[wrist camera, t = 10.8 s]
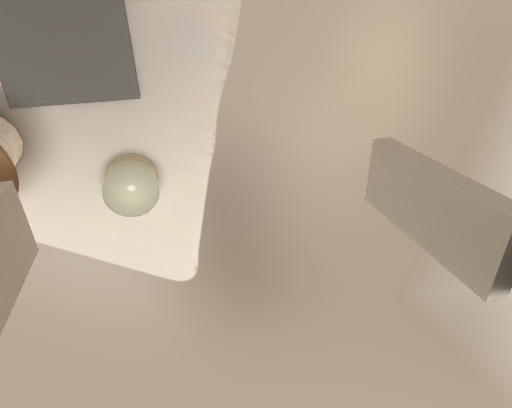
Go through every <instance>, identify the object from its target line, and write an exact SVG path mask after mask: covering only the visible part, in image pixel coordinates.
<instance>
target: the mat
mask: <svg viewBox="0 0 512 408" xmlns="http://www.w3.org/2000/svg"><path fill="white" fill-rule="evenodd" d="M0 80H1V83H2V86H3V89H4V92H5V95H6V98H7V101H8V104H9V107H10V108H23V107H36V106H49V105H63V104H76V103H89V102H102V101H116V100H129V99H140V94H139V88H138V82H137V76H136V70H135V64H134V58H133V52H132V46H131V40H130V34H129V29H128V23H127V17H126V11H125V5H124V0H0Z"/></svg>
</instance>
